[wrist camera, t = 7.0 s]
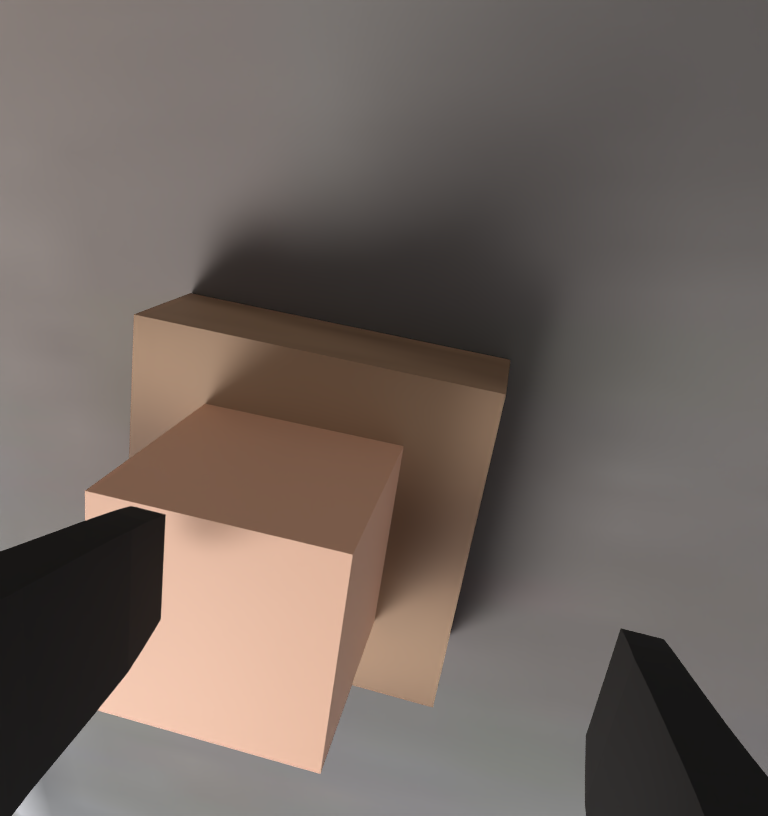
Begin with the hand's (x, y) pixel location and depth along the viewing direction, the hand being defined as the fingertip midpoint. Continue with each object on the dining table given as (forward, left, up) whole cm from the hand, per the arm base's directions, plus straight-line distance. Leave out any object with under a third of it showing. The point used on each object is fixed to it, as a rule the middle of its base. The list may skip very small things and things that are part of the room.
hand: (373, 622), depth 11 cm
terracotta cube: (-2, +3, -6) cm, 7 cm away
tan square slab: (-2, +3, -9) cm, 10 cm away
